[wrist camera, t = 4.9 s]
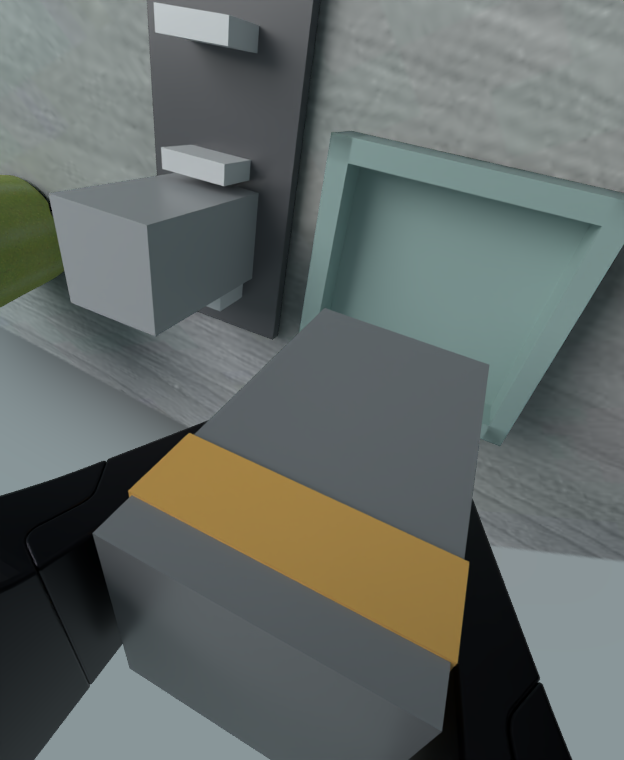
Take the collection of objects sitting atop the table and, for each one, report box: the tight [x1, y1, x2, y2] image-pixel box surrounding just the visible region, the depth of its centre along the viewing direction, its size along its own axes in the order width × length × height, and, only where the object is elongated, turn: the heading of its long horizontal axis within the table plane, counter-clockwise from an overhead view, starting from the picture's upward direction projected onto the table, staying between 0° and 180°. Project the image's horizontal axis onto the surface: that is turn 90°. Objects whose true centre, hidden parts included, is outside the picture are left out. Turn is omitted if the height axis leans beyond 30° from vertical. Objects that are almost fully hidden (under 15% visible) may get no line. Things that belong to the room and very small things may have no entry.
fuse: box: [93, 308, 489, 760], centre depth 8 cm, size 4×4×7 cm
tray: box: [299, 131, 624, 446], centre depth 17 cm, size 10×10×2 cm
